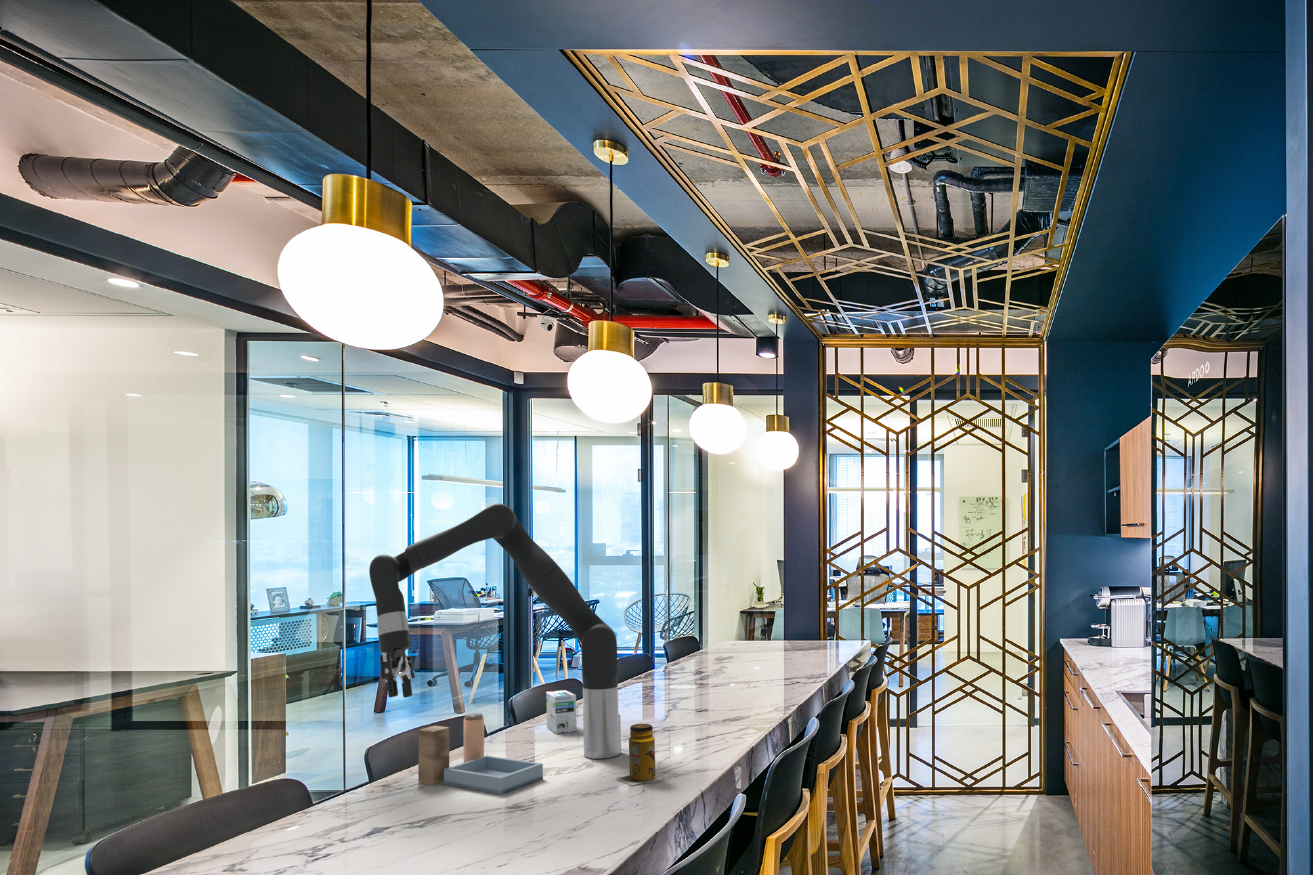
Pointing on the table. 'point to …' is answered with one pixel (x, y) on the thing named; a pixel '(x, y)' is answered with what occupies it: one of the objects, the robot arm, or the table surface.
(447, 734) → the walnut block
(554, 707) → the light bulb box
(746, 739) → the table surface
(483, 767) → the tote
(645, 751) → the condiment
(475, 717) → the terracotta jar
